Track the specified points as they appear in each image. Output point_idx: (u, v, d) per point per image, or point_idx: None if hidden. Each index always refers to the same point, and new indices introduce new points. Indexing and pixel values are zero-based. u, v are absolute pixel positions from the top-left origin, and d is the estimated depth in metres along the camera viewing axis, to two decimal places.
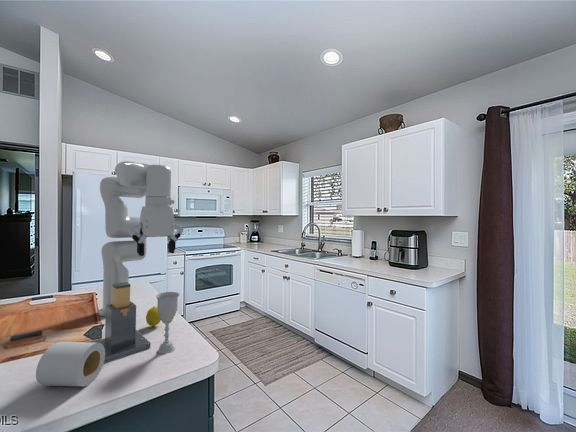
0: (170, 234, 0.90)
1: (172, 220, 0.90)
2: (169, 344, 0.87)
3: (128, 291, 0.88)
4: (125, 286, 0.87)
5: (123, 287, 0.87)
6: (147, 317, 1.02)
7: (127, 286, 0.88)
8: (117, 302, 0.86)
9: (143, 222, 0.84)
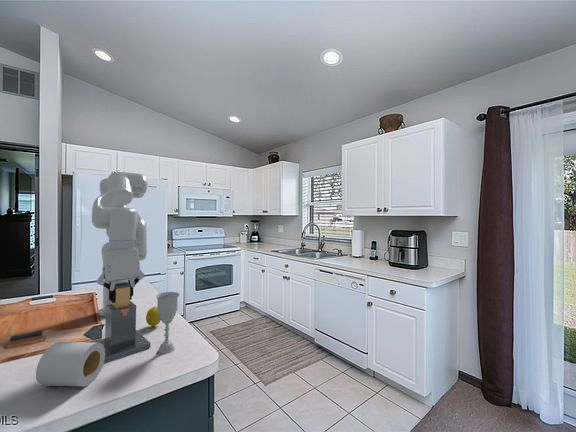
0: (135, 276, 0.90)
1: (137, 262, 0.90)
2: (169, 344, 0.87)
3: (128, 291, 0.88)
4: (125, 286, 0.87)
5: (123, 287, 0.87)
6: (147, 317, 1.02)
7: (127, 286, 0.88)
8: (117, 302, 0.86)
9: (105, 267, 0.84)
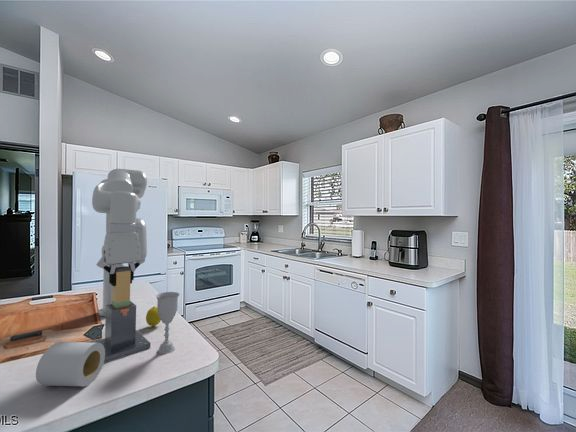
0: (135, 260, 0.90)
1: (137, 246, 0.90)
2: (169, 344, 0.87)
3: (128, 275, 0.88)
4: (125, 270, 0.87)
5: (123, 271, 0.87)
6: (147, 317, 1.02)
7: (127, 270, 0.88)
8: (117, 285, 0.86)
9: (105, 250, 0.84)
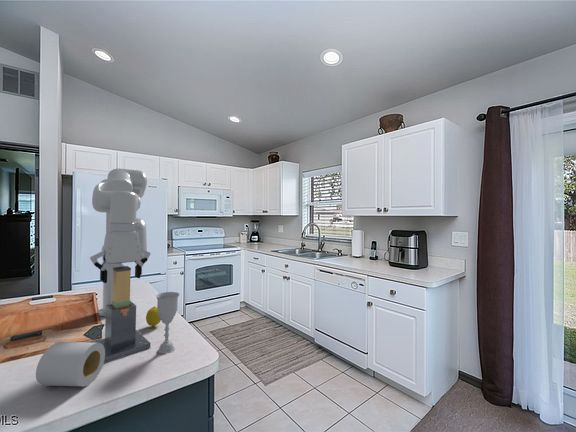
0: (135, 259, 0.90)
1: (137, 245, 0.90)
2: (169, 344, 0.87)
3: (128, 275, 0.88)
4: (125, 269, 0.87)
5: (123, 270, 0.87)
6: (147, 317, 1.02)
7: (127, 269, 0.88)
8: (117, 285, 0.86)
9: (105, 249, 0.84)
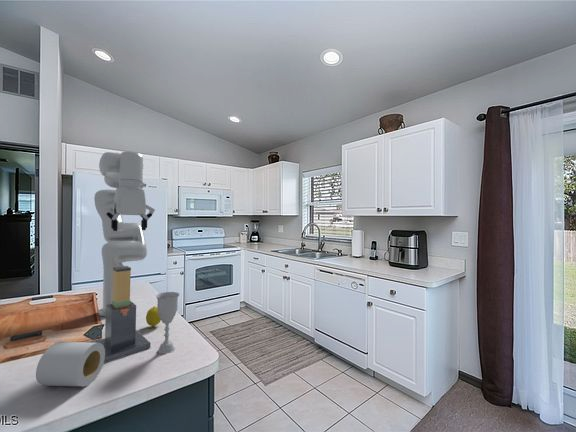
0: (142, 213, 1.02)
1: (143, 201, 1.02)
2: (169, 344, 0.87)
3: (128, 275, 0.88)
4: (125, 269, 0.87)
5: (123, 270, 0.87)
6: (147, 317, 1.02)
7: (127, 269, 0.88)
8: (117, 285, 0.86)
9: (116, 201, 0.97)
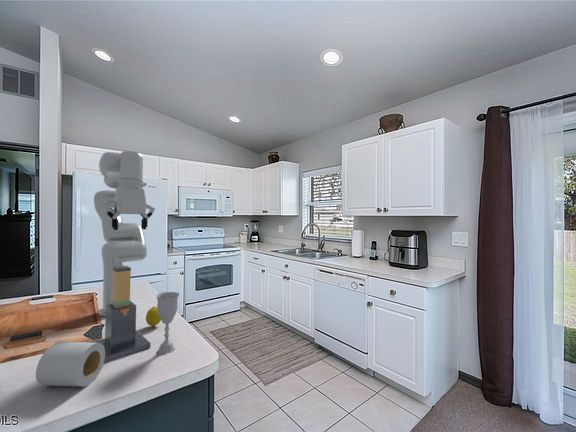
0: (142, 212, 1.03)
1: (144, 200, 1.03)
2: (169, 344, 0.87)
3: (128, 275, 0.88)
4: (125, 269, 0.87)
5: (123, 270, 0.87)
6: (147, 317, 1.02)
7: (127, 269, 0.88)
8: (117, 285, 0.86)
9: (116, 200, 0.97)
